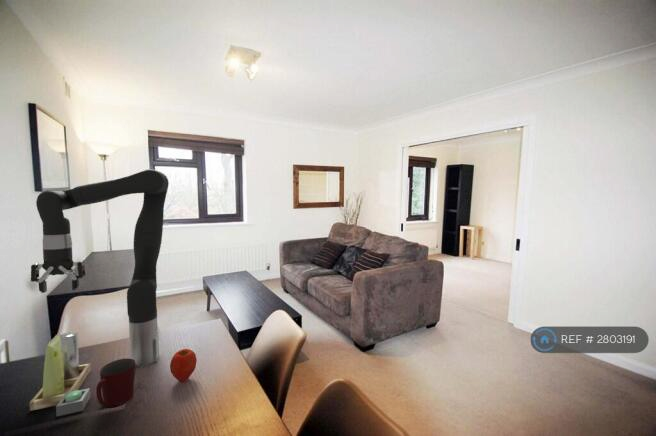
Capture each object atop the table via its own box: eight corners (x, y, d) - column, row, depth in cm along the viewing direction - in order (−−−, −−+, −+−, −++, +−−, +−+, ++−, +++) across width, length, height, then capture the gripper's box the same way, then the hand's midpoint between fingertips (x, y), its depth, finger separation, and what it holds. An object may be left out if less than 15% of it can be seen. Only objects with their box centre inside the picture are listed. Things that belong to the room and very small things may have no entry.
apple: (201, 380, 99) (200, 351, 98) (175, 392, 93) (174, 361, 92) (191, 370, 105) (191, 342, 104) (166, 380, 99) (166, 351, 98)
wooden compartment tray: (91, 372, 102) (90, 363, 102) (70, 405, 86) (69, 394, 86) (58, 378, 98) (57, 369, 98) (30, 413, 82) (29, 402, 82)
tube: (68, 395, 89) (68, 336, 88) (48, 406, 84) (47, 343, 83) (59, 390, 91) (59, 332, 90) (38, 399, 86) (37, 339, 85)
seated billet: (81, 374, 99) (80, 330, 98) (75, 383, 95) (73, 337, 94) (62, 377, 97) (60, 333, 96) (55, 387, 93) (53, 340, 92)
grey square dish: (90, 400, 88) (89, 388, 88) (83, 413, 83) (82, 400, 83) (66, 405, 86) (65, 393, 86) (56, 419, 81) (56, 406, 80)
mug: (113, 418, 81) (112, 382, 81) (84, 417, 82) (82, 381, 81) (142, 390, 93) (141, 358, 93) (116, 389, 93) (115, 358, 93)
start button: (83, 398, 87) (83, 388, 87) (79, 406, 83) (78, 396, 83) (69, 401, 85) (68, 392, 85) (63, 410, 82) (63, 399, 82)
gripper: (24, 249, 93) (27, 296, 95) (78, 247, 99) (80, 291, 100) (36, 245, 100) (39, 290, 101) (86, 244, 106) (88, 285, 107)
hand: (59, 290), depth 101 cm, fingers open, 8 cm apart
